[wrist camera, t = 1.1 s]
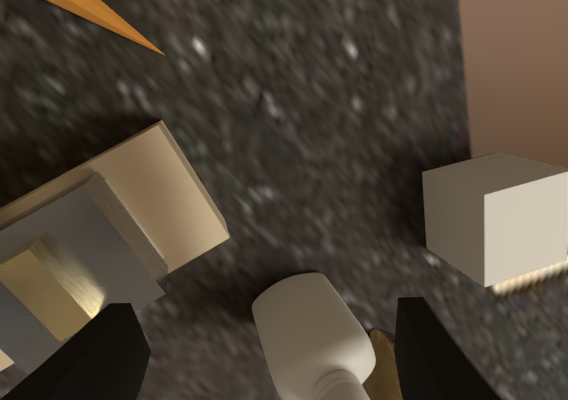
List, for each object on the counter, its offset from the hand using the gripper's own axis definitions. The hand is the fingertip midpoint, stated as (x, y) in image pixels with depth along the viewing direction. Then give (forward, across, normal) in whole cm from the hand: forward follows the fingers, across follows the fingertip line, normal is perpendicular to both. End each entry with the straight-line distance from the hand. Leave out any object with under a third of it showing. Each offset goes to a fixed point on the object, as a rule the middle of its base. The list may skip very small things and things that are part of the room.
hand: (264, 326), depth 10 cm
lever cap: (+7, +11, +3) cm, 13 cm away
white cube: (+18, -12, +7) cm, 22 cm away
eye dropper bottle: (+12, +1, +11) cm, 17 cm away
